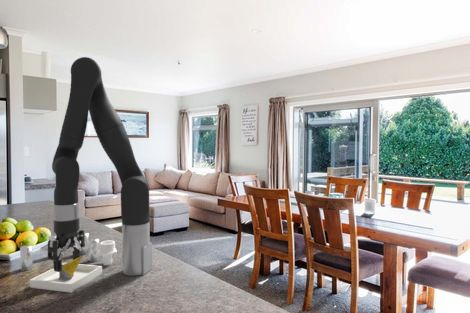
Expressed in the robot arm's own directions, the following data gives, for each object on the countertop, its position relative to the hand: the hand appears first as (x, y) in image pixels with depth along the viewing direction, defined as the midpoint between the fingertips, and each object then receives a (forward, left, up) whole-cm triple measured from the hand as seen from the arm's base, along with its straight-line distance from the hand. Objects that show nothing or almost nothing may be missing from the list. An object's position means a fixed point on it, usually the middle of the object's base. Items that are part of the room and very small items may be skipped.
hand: (67, 266), depth 108 cm
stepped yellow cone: (0, -1, -4) cm, 4 cm away
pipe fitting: (-4, -16, -5) cm, 17 cm away
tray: (0, 0, -5) cm, 5 cm away
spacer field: (+12, -14, -5) cm, 19 cm away
